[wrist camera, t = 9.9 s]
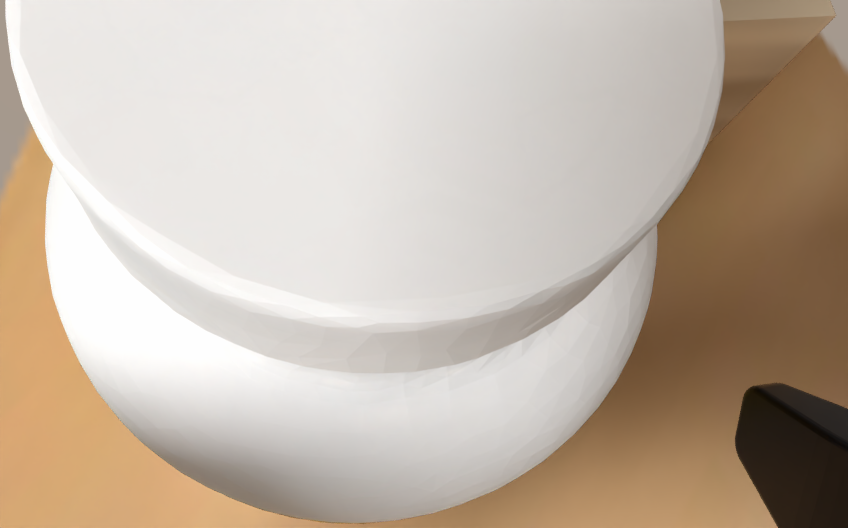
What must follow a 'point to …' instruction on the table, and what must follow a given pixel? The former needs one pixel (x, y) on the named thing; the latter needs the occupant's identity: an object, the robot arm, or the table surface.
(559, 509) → the table surface
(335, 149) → the supplement bottle
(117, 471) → the table surface
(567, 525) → the table surface
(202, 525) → the table surface
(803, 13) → the birch backstop wall
